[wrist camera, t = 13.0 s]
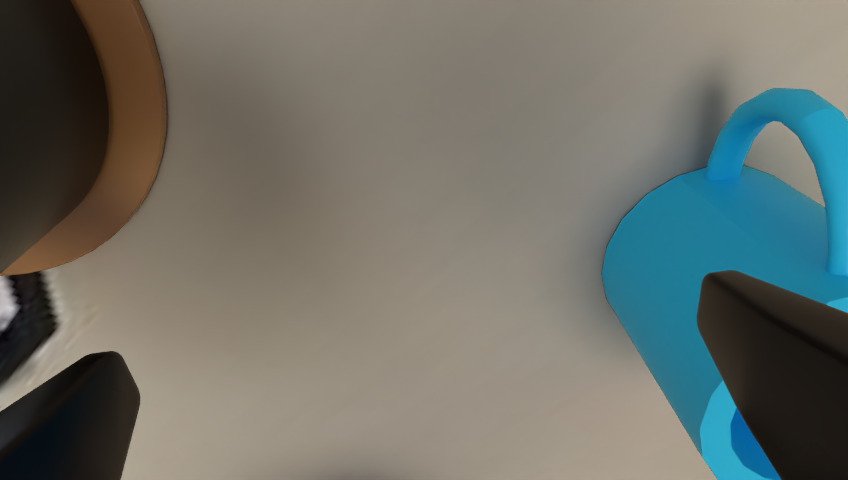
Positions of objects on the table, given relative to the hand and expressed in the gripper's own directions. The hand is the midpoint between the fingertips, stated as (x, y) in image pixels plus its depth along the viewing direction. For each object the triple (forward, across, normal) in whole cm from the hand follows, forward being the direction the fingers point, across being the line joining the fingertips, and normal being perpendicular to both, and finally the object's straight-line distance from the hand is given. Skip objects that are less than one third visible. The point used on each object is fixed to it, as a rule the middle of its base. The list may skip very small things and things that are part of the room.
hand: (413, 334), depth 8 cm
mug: (+12, -11, +6) cm, 18 cm away
